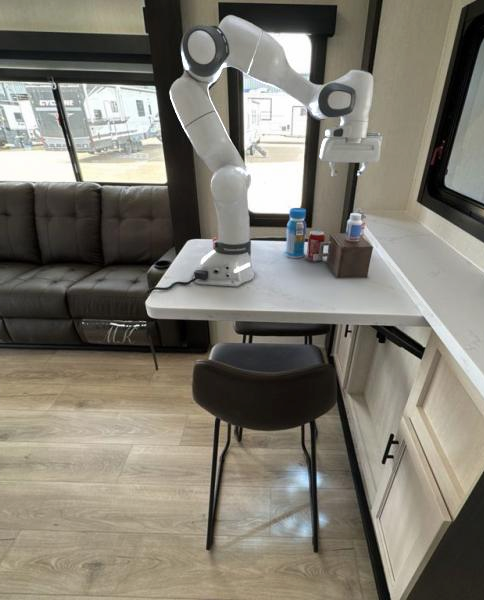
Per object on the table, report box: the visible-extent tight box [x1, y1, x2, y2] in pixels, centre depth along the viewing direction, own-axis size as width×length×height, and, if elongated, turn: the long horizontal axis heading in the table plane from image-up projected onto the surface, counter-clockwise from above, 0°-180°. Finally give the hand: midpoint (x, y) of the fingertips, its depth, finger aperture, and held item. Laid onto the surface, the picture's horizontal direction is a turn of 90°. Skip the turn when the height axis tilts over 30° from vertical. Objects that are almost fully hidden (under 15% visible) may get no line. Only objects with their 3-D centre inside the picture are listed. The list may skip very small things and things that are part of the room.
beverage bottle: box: [285, 207, 307, 259], centre depth 131 cm, size 8×8×20 cm
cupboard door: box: [319, 233, 343, 279], centre depth 120 cm, size 5×16×12 cm, turn 5°
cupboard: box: [332, 232, 374, 279], centre depth 121 cm, size 11×16×13 cm
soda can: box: [306, 230, 326, 263], centre depth 129 cm, size 7×7×12 cm
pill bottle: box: [345, 212, 362, 242], centre depth 115 cm, size 6×5×10 cm
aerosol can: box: [353, 207, 367, 238], centre depth 135 cm, size 7×7×20 cm
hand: (346, 176), depth 107 cm, fingers open, 8 cm apart
